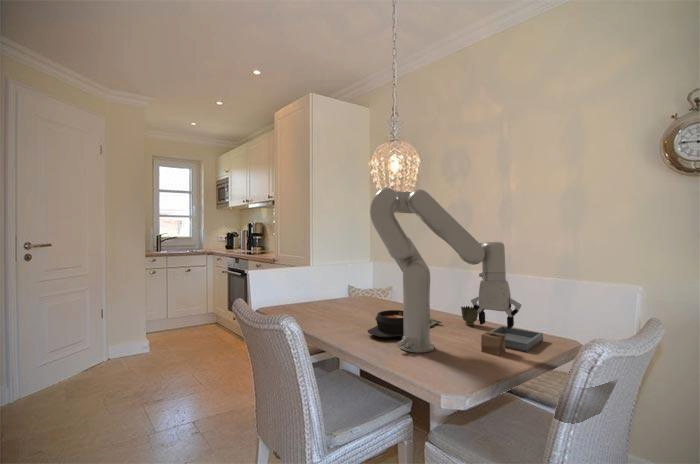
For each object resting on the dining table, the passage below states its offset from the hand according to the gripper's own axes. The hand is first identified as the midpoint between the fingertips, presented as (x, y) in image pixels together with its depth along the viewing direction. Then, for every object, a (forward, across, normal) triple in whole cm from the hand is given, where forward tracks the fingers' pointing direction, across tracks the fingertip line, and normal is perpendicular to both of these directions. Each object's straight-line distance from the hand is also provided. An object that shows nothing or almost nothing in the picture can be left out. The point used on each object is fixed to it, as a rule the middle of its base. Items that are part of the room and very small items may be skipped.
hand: (496, 325), depth 128 cm
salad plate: (+9, -43, +14) cm, 46 cm away
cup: (+9, -23, +27) cm, 37 cm away
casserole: (+8, -39, -7) cm, 40 cm away
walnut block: (+9, -1, -1) cm, 9 cm away
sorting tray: (+9, 0, +15) cm, 18 cm away
